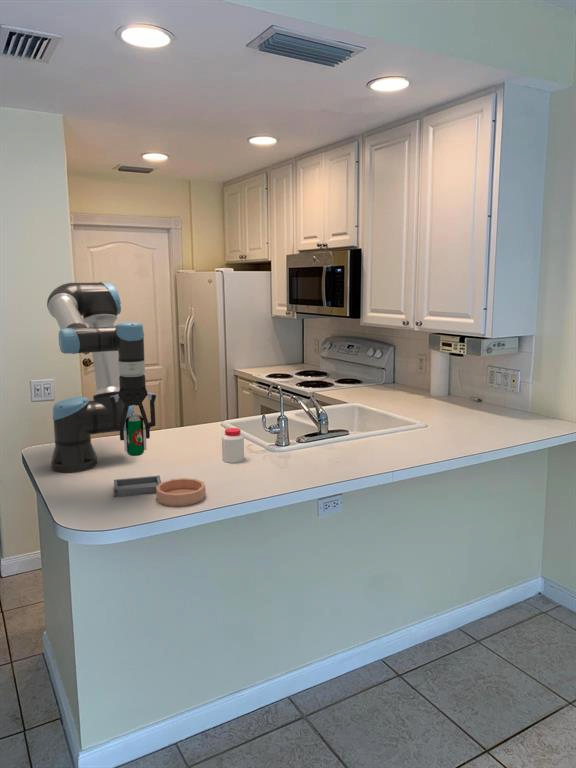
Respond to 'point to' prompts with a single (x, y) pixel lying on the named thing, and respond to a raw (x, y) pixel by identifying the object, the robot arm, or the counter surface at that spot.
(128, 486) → the tray
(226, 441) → the pill bottle
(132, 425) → the soda can
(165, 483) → the bowl
